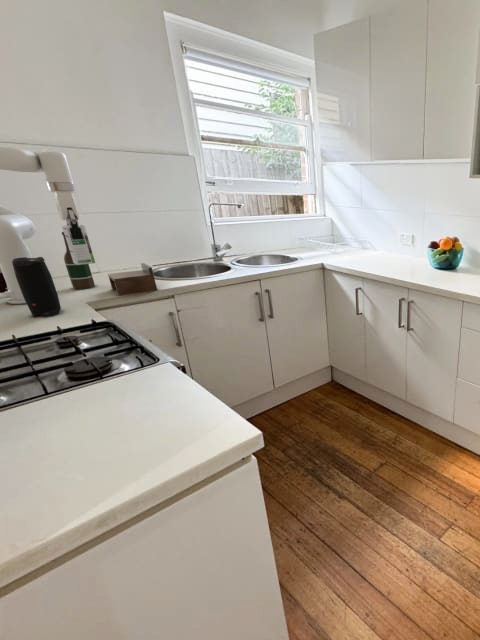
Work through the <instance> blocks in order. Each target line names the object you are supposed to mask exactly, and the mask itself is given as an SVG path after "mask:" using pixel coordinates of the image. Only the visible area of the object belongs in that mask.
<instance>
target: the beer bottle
mask: <svg viewBox="0 0 480 640" xmlns="http://www.w3.org/2000/svg"><path fill="white" fill-rule="evenodd" d="M61 235H62V238H63V241H64V245H65V253H64V255H63V261H64V265H65V267H66V272H67V274H68V277H69V280H70V283H71V286H72V288H73V289H74V290H86V289H92V288H95V287H96V285H95V281H94V277H93V274H92V271H91V268H90V264H82V265H77V264H75V263H74V262H73V259H72V256H71V253H70V250H69V247H68V244H67V241H66V237H65V234H64V231H61Z"/></svg>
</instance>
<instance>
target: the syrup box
mask: <svg viewBox="0 0 480 640" xmlns="http://www.w3.org/2000/svg"><path fill="white" fill-rule="evenodd" d="M79 227H80V228H81V231H82V235H83V239H73V238H72V235H71V232H70V229H69V228H70V226H67V225H62V226H61V228H62V232H64V234H65V237H66V241H67V244H68V247H69V250H70V253H71V256H72V259H73V262H74V263H75V264H77V265H82V264H89V265H90V264H91V265H92V264H96V260H95V256H94V254H93V251H92V246H91V243H90V239H89V236H88V232H87V229H86V226H85V225H83V224H79Z"/></svg>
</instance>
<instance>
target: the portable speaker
mask: <svg viewBox="0 0 480 640" xmlns="http://www.w3.org/2000/svg"><path fill="white" fill-rule="evenodd" d="M12 264H13V268H14V272H15V276H16V279H17V281H18V284H19V287H20V289H21V292H22V295H23V297H24V299H25V301H26V303H25V304H26V305H27V308H28V310H29V311H30V314H31V316H32V317H33V318H34V317H35V318H36V317H37V316H42V315H43V316H45V317H52V316H56V315H59V314H60V312H61V310H62V306H61V302H60V299H59V298H60V297H59V294H58V290H57V288H56V285H55V283H54V279H53V277H52V274H51V272H50V270H49V267H48V266H47V263H46V260H45V258H44V257H43V256H37V257H32V258H26V257H23V258H16V259H13V261H12Z"/></svg>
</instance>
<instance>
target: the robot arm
mask: <svg viewBox="0 0 480 640" xmlns="http://www.w3.org/2000/svg"><path fill="white" fill-rule="evenodd" d="M0 170H4V171H10V172H18V173H43V176H44V178H45V181H46V186H47V188H48V191H49V193H53V196H54V201H55V204H56V209H57V211H58V214H59V218H60V220H62V221H65V222H66V226H70V228H69V229H70V232H71V235H72V238H73V239H83V235H82V231H81V228H80V227H79V225H80V224H79V220H80V215H79V211H78V206H77V204H76V200H75V197H74V194H73V193H77V190H76V186H75V183H74V179H73V175H72V173H71V169H70V166H69V163H68V158H67V156H66V154H65V153H64V152H63V151H57V150H33V149H29V148H28V149H27V148H21V147H13V146H5V145H0ZM35 234H36V225H35V224H34V223H33V221H32V220H31V219H30V218H28V217H27V216H25V215H23V214H21V213H18V212H17V211H14V210H12V209H10V208H8V207H6V206H3V205H1V204H0V271H1V273H2V275H3V278H4V280H5V284H6V286H7V288H8V289H7V291H6V290H5V291H4V292H0V300H1V299H6V301H7V303H8V304H11V305H22V304H23V305H25V304H27V303H26V301H25V299H24V297H23V295H22V292H21V289H20V287H19V284H18V281H17V279H16V276H15V272H14V268H13V264H12V261H13V259H16V258H23V257H26V258H33V256H32V252H31V251H30V249H29V247H28V245H27V244H26V242H25V240H28V239H30V238H33V236H35Z"/></svg>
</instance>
